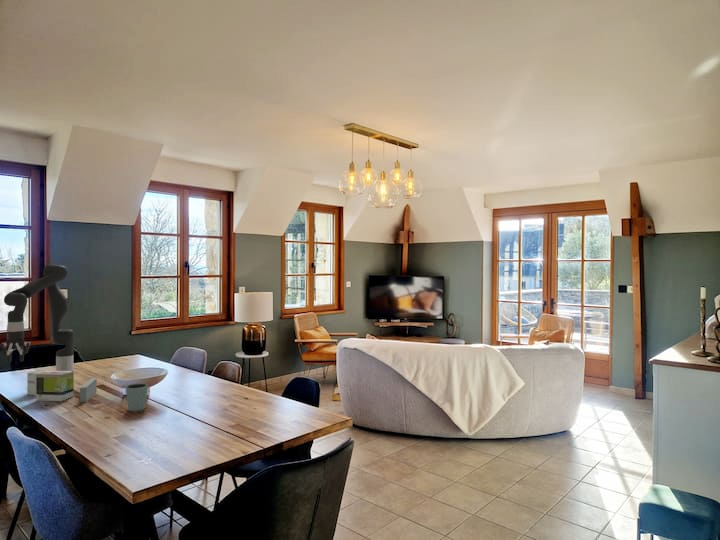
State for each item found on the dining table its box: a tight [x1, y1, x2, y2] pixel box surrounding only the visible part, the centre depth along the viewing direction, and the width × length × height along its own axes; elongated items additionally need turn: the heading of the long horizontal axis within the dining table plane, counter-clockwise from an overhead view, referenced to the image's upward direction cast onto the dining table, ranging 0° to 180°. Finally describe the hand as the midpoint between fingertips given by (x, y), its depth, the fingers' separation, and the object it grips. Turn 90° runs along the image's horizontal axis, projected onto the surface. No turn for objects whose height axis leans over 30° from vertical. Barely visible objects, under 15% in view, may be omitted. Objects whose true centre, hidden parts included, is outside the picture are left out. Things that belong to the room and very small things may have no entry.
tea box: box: [35, 370, 75, 402], centre depth 268 cm, size 15×10×15 cm, turn 84°
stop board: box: [79, 377, 98, 403], centre depth 273 cm, size 22×3×8 cm, turn 15°
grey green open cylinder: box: [125, 382, 149, 412], centre depth 251 cm, size 10×10×12 cm
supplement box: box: [26, 369, 46, 397], centre depth 278 cm, size 7×7×13 cm
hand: (15, 361), depth 263 cm, fingers open, 4 cm apart
